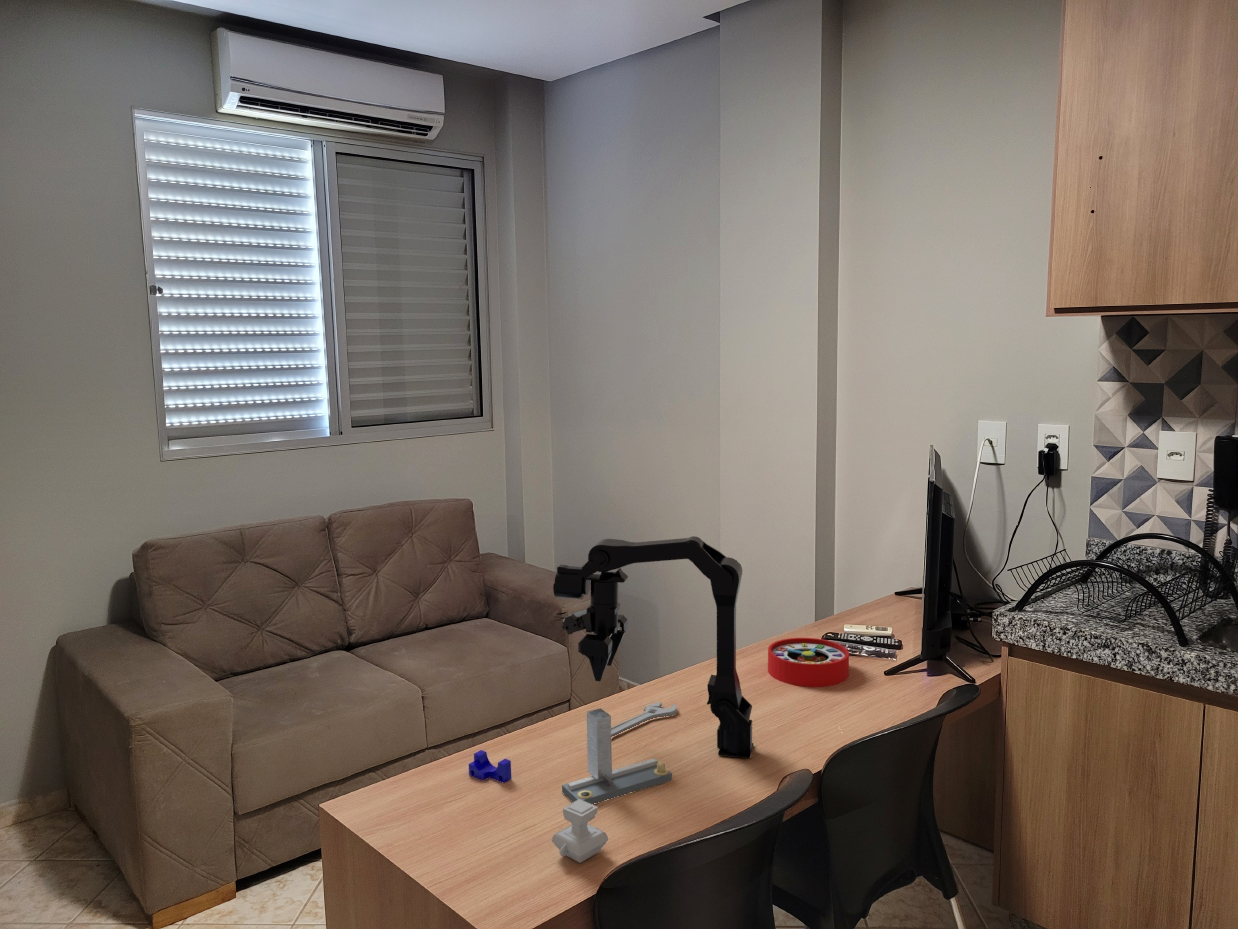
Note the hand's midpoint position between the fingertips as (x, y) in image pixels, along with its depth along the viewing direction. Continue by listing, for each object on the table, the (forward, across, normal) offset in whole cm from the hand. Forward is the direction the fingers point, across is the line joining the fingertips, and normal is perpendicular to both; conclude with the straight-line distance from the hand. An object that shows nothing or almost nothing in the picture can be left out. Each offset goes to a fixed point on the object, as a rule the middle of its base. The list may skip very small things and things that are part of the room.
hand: (603, 673), depth 187 cm
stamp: (+15, +42, +7) cm, 45 cm away
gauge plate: (+15, +19, +8) cm, 25 cm away
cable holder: (+16, +20, -18) cm, 31 cm away
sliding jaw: (+13, +21, +5) cm, 25 cm away
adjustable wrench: (+15, -9, +4) cm, 18 cm away
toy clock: (+14, -48, +42) cm, 65 cm away
